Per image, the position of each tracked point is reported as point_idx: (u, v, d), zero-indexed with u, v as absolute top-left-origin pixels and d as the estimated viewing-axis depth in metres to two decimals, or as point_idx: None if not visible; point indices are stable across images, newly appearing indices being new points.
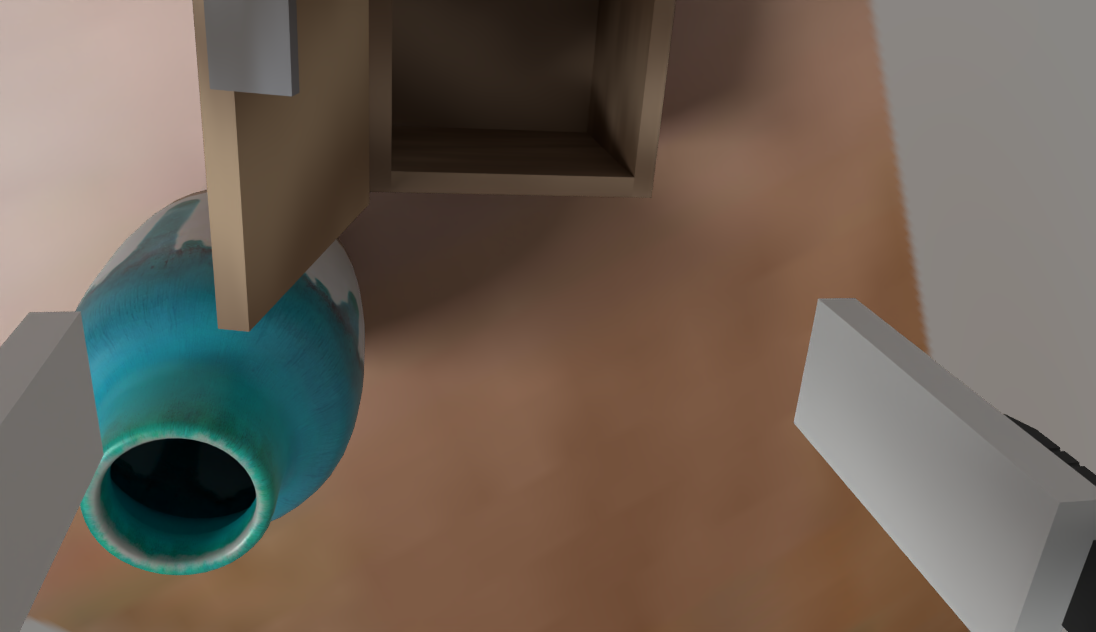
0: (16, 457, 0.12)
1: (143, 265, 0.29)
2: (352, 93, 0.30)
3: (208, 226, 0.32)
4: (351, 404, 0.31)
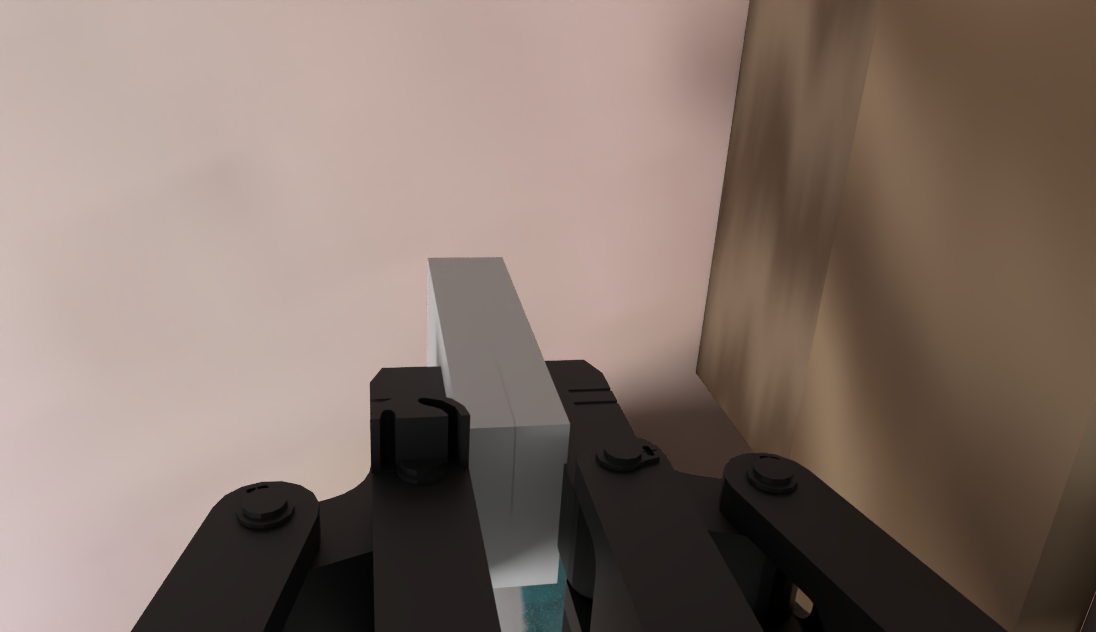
0: None
1: None
2: None
3: None
4: None
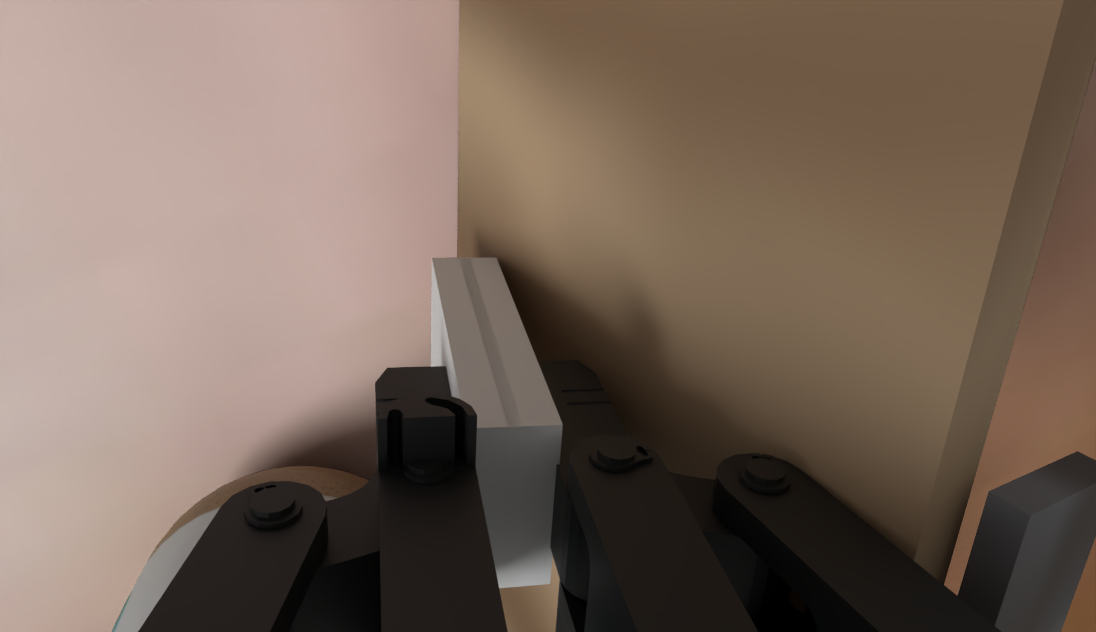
0: None
1: None
2: None
3: None
4: None
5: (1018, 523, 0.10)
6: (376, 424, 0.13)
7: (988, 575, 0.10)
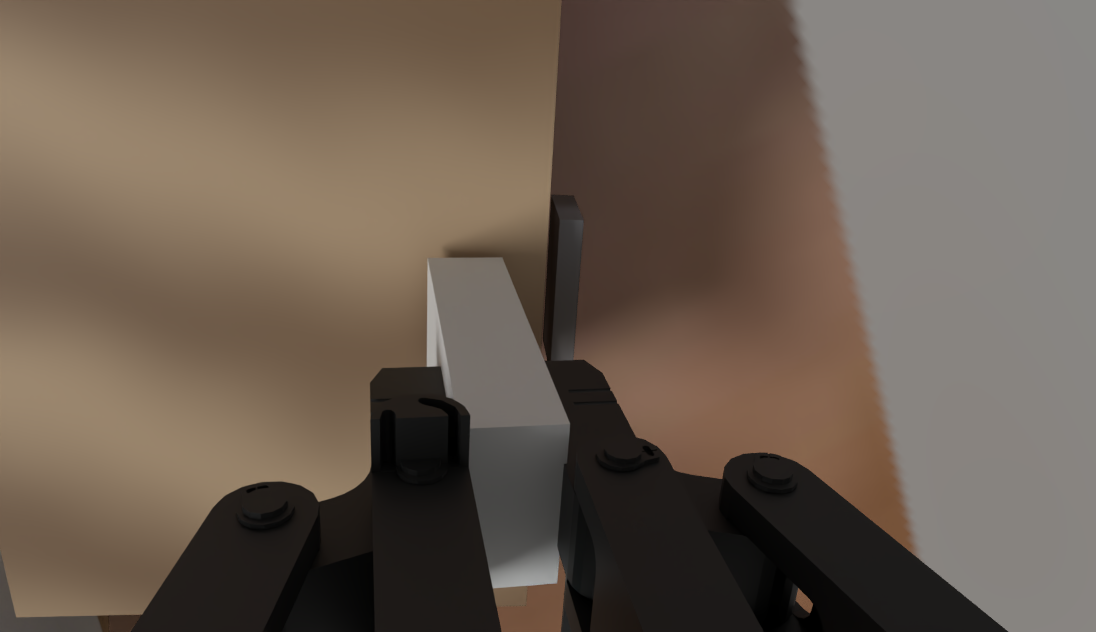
0: None
1: None
2: None
3: None
4: None
5: (578, 228, 0.19)
6: None
7: (569, 264, 0.19)
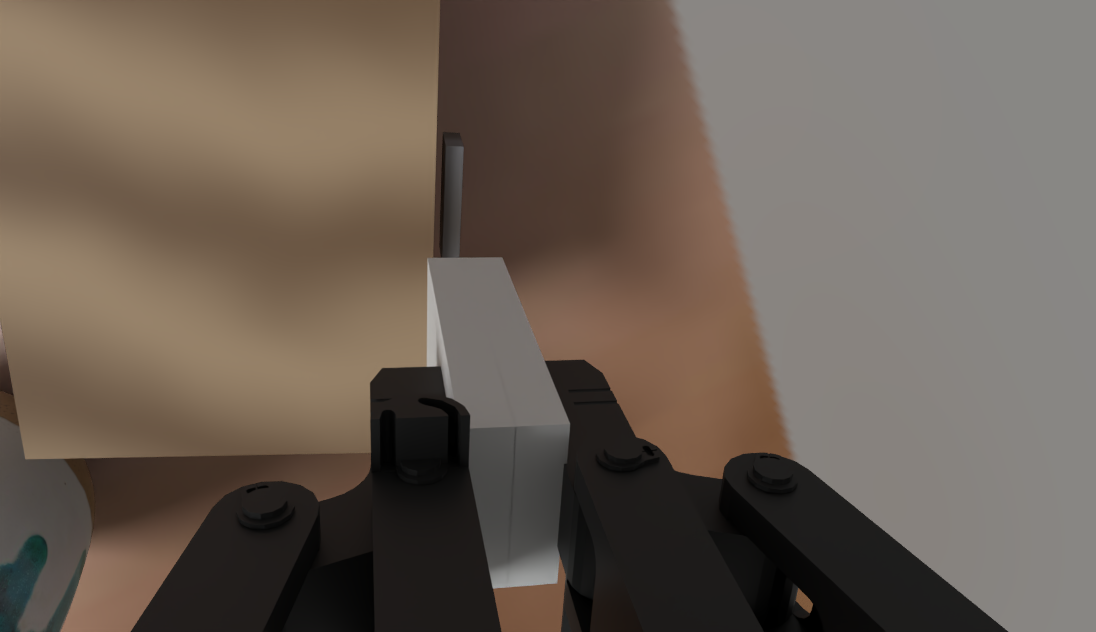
0: None
1: None
2: None
3: None
4: None
5: (459, 152, 0.25)
6: None
7: (454, 180, 0.26)
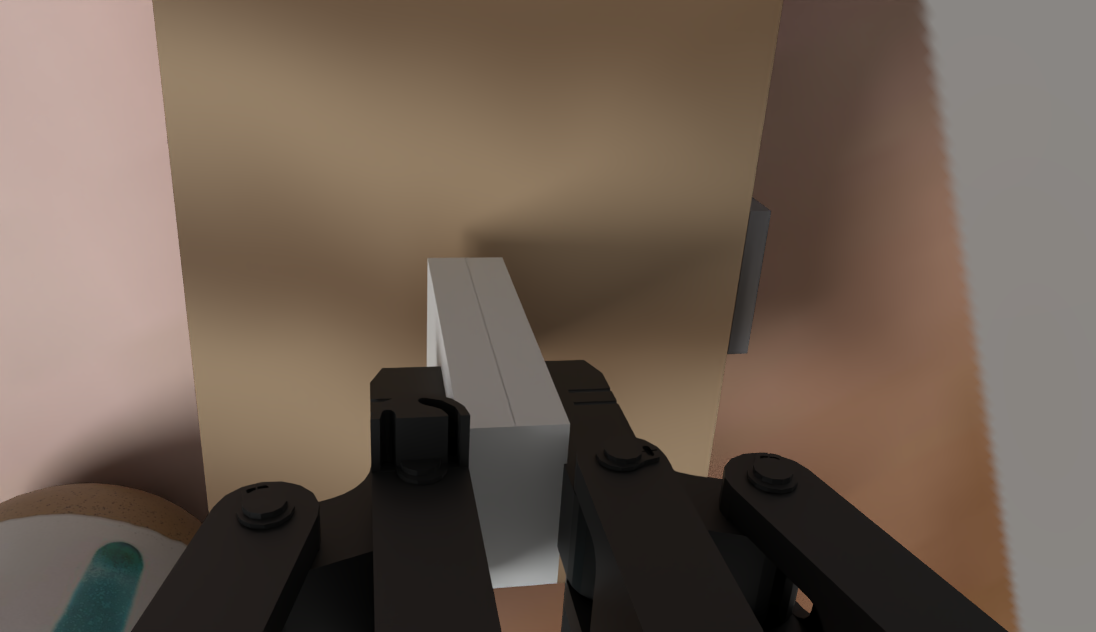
0: None
1: None
2: None
3: None
4: None
5: (765, 218, 0.20)
6: None
7: (754, 252, 0.21)
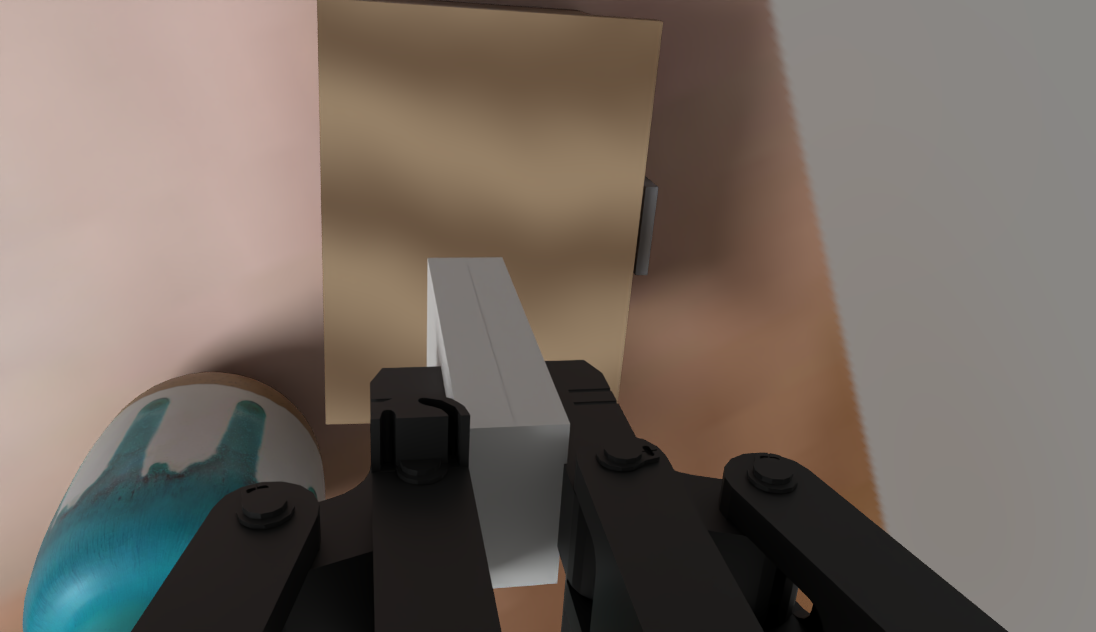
0: None
1: (111, 494, 0.32)
2: None
3: (174, 442, 0.34)
4: None
5: (655, 191, 0.34)
6: None
7: (649, 211, 0.35)
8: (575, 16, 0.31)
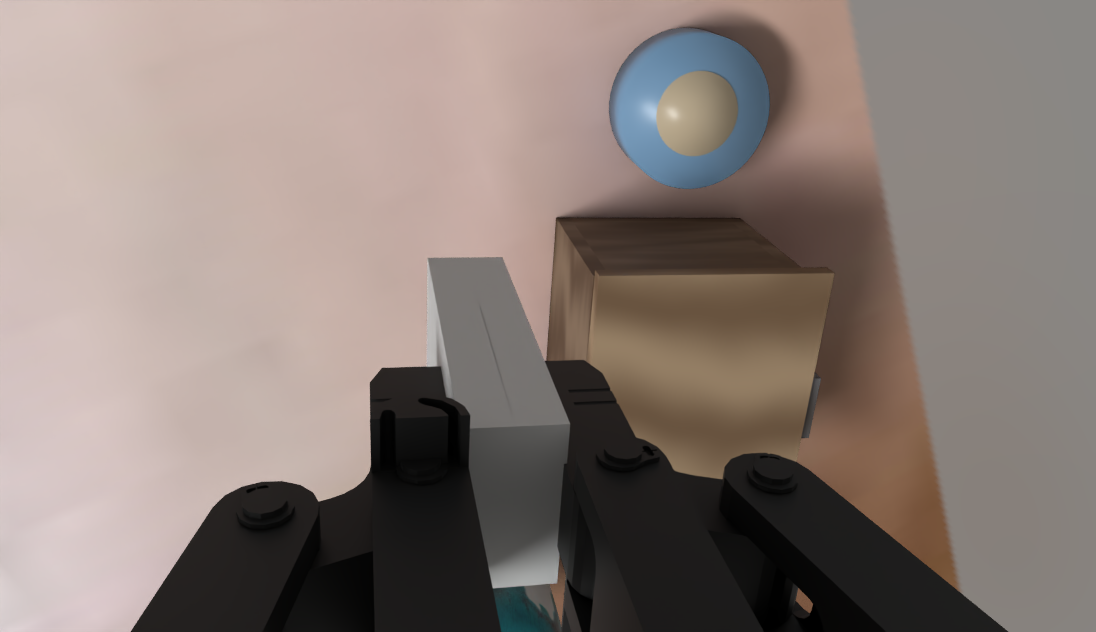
0: None
1: None
2: None
3: None
4: None
5: (818, 381, 0.47)
6: None
7: (813, 395, 0.47)
8: (773, 274, 0.43)
